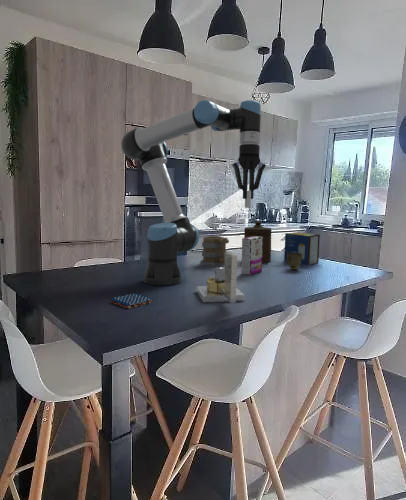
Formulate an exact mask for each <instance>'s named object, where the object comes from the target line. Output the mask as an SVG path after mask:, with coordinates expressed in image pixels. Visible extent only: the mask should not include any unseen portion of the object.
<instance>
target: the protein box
mask: <svg viewBox="0 0 406 500" xmlns="http://www.w3.org/2000/svg"><path fill="white" fill-rule="evenodd" d="M284 235H285V237H284V253H283V254H284V255H283V261H284V262H287V253H292V252H293V253H295V254H296V253H300V254H301V255H302V254H303V255H302V260H301V264H300V265H306V266H309V265H315V264H318V263H319V259H320V258H319V256H320V238H321V237H320V236H321V234H320V233H317V234H316V233H308V232H299V231H298V232H297V231H295V232H286V233H284Z"/></svg>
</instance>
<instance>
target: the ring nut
mask: <svg viewBox="0 0 406 500" xmlns="http://www.w3.org/2000/svg"><path fill="white" fill-rule="evenodd" d="M224 268H225V269H224V283H217V281H216V280H215V277H212V276H210V277H208V279H207V280H206V286H207V290H208V291H210V292H216V293H217V292H218V293H222V294H223V295H224V297H225V298H226V299H227V300H228V301H227V302H229V303H230V304H234V303H236V301H235V300H236V288H237V281H238V280H237V279H238V277H237V275H238V274H237V272H238V255H236V254H234V253H233V252H231V251H226V252H225V265H224Z"/></svg>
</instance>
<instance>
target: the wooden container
mask: <svg viewBox="0 0 406 500" xmlns="http://www.w3.org/2000/svg"><path fill="white" fill-rule="evenodd" d="M243 231H244V237H243V238H248V237H254V236H257V237H263V245H262V264H268V263H271V261H272V228H270V227H263V225H262V221H260V220H256V221H254V226H247V227H244V230H243ZM267 262H268V263H267Z"/></svg>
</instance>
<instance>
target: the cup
mask: <svg viewBox="0 0 406 500" xmlns="http://www.w3.org/2000/svg"><path fill="white" fill-rule="evenodd" d="M302 255H303V254H302ZM302 255H301V254H300V253H296V254H295V253H293V252H292V253H287V261H286V263H287V265H288V266H290V267H289V269H290V270H292V271H297V270H298V268H299V266H301V265H302V264H301V260H302Z"/></svg>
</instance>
